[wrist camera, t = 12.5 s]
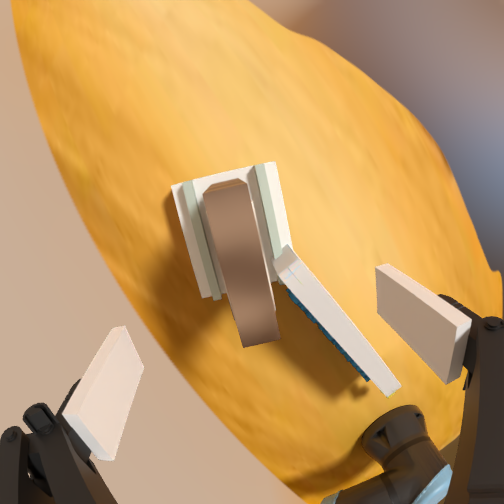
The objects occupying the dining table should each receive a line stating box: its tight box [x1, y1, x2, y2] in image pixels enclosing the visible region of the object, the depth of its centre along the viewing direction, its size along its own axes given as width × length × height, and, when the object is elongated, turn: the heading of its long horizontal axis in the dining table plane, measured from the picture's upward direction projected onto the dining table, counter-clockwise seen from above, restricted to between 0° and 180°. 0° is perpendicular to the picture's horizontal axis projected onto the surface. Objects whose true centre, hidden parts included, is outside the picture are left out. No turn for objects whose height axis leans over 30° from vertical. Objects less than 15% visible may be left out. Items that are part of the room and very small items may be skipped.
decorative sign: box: [270, 244, 401, 398], centre depth 38 cm, size 32×4×10 cm, turn 41°
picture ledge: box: [171, 161, 293, 301], centre depth 35 cm, size 14×12×4 cm
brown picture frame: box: [202, 178, 281, 348], centre depth 28 cm, size 12×4×14 cm, turn 12°
